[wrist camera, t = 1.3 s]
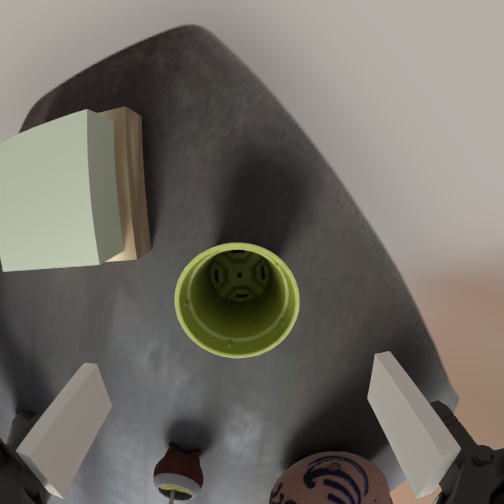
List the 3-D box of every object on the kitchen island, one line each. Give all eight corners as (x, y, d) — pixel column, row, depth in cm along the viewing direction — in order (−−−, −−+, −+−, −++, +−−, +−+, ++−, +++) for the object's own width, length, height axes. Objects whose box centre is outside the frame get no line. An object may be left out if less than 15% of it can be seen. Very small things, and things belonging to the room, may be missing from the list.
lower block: (52, 256, 30) (28, 267, 26) (42, 143, 28) (17, 140, 23) (153, 248, 30) (137, 259, 26) (143, 117, 27) (125, 106, 23)
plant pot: (187, 232, 30) (164, 251, 21) (281, 221, 29) (295, 236, 21) (201, 318, 32) (187, 361, 23) (289, 309, 31) (302, 351, 23)
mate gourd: (187, 435, 36) (169, 520, 21) (218, 463, 37) (211, 541, 23) (150, 445, 36) (125, 520, 22) (181, 472, 38) (167, 543, 23)
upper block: (32, 259, 25) (3, 271, 21) (21, 149, 23) (-9, 146, 18) (124, 250, 25) (99, 264, 20) (113, 120, 23) (87, 108, 18)
